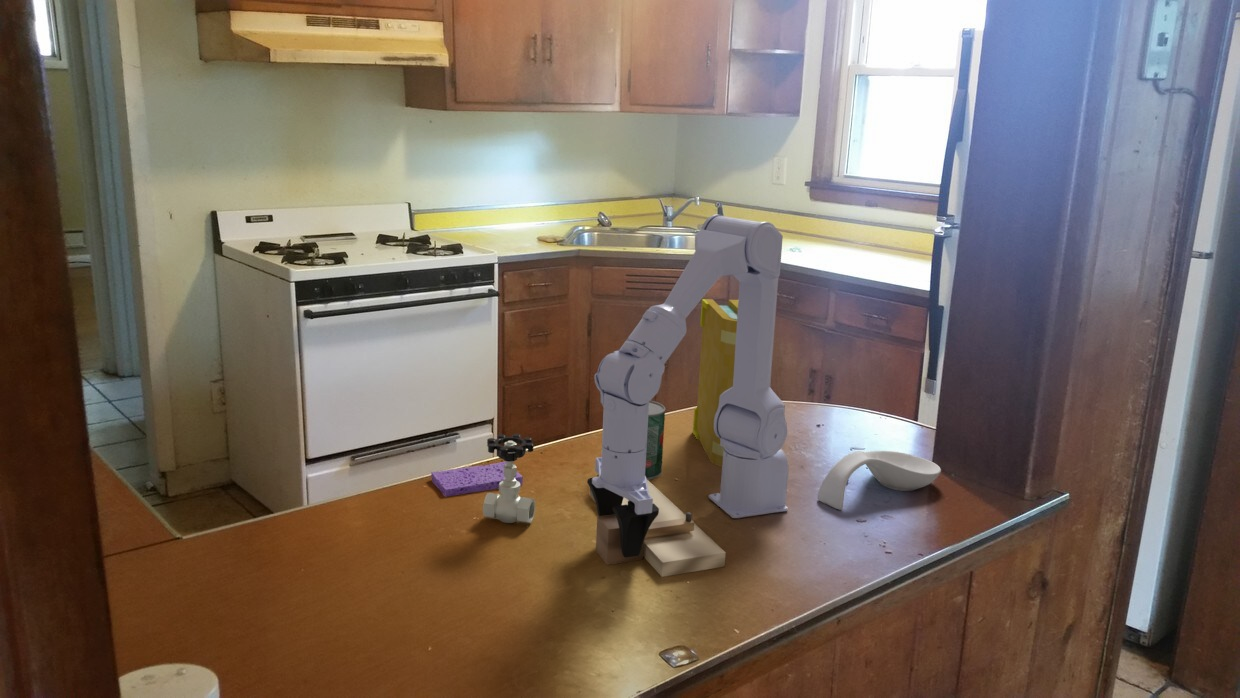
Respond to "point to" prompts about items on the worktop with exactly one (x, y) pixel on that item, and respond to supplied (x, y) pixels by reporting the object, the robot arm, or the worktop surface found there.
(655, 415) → the canned tomato
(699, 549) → the board
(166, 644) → the worktop surface
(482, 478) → the sponges
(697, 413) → the book
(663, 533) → the mallet
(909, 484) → the spoon rest
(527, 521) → the valve
